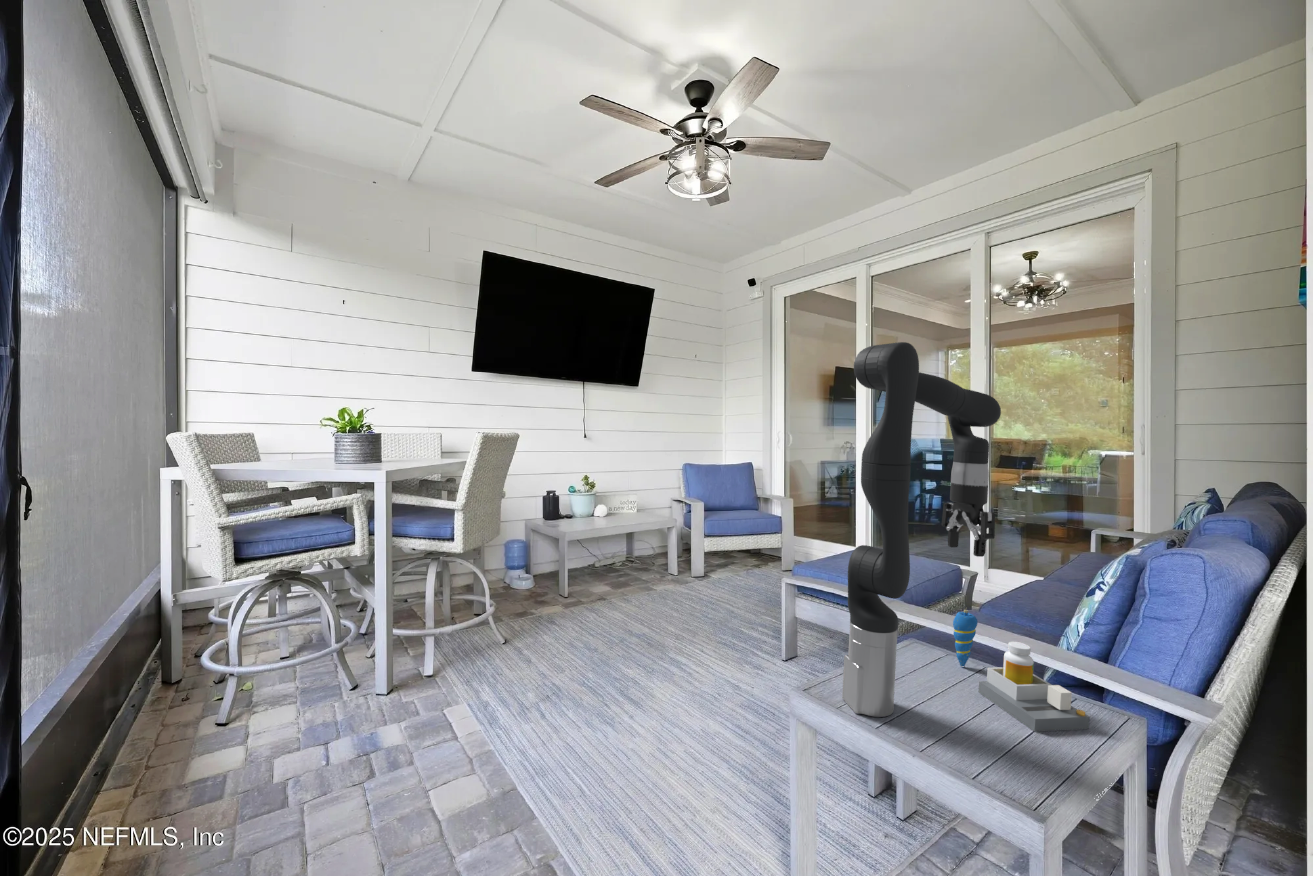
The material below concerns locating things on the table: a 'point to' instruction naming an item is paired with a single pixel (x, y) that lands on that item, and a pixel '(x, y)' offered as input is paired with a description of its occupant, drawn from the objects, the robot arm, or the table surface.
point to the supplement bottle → (1018, 664)
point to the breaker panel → (1030, 703)
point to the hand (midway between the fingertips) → (965, 551)
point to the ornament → (964, 635)
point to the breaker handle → (1059, 697)
